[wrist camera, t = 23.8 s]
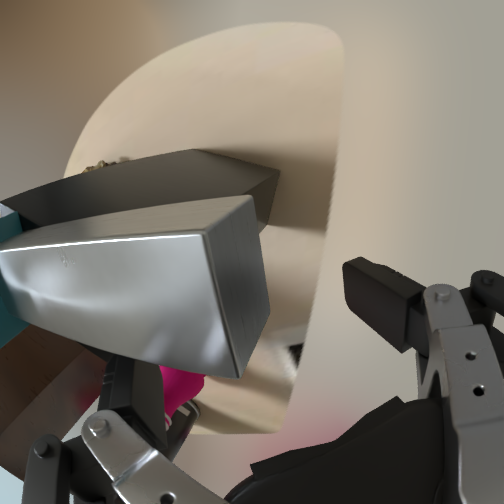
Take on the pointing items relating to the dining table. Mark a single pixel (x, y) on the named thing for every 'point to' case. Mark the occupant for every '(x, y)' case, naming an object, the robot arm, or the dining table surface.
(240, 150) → the dining table surface
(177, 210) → the handle bar
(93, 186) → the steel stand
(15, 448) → the plinth
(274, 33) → the dining table surface
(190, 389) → the pepper mill
